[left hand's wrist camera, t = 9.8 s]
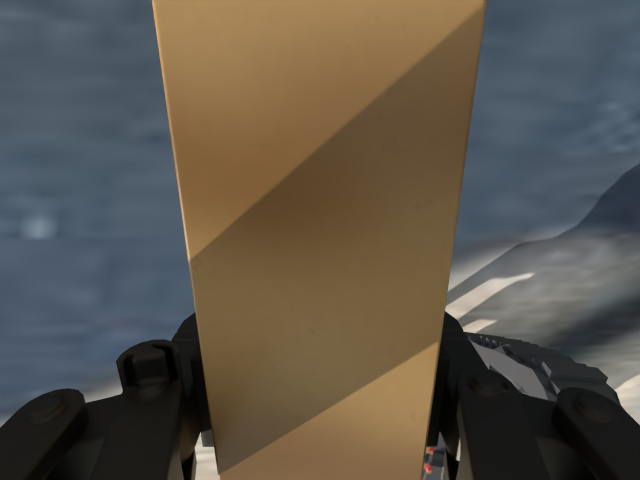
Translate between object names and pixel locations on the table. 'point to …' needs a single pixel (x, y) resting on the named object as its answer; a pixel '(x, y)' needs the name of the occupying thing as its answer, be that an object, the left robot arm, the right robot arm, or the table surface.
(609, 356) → the table surface
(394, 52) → the oak block
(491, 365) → the toy
